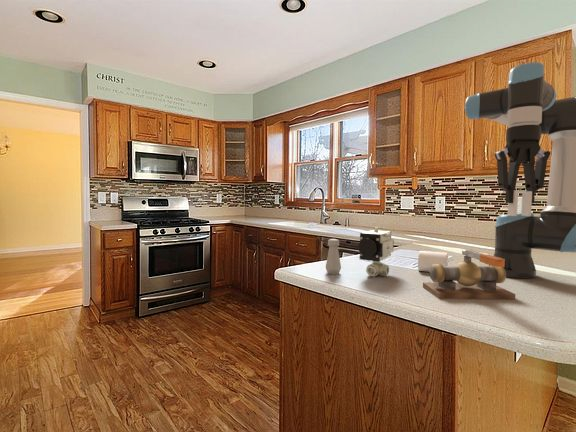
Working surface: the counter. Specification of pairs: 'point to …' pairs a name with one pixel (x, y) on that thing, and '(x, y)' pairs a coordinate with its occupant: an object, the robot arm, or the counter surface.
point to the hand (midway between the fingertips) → (519, 215)
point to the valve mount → (467, 281)
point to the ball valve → (376, 250)
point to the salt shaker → (333, 258)
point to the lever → (485, 258)
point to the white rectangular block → (431, 260)
